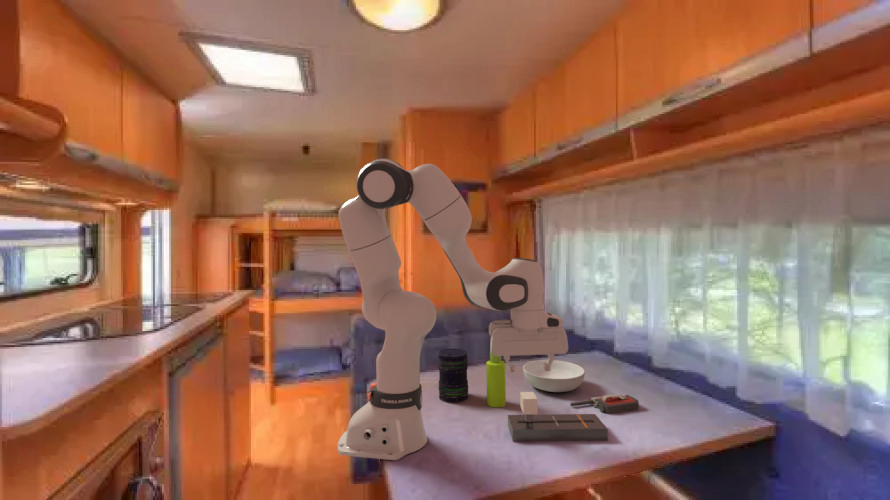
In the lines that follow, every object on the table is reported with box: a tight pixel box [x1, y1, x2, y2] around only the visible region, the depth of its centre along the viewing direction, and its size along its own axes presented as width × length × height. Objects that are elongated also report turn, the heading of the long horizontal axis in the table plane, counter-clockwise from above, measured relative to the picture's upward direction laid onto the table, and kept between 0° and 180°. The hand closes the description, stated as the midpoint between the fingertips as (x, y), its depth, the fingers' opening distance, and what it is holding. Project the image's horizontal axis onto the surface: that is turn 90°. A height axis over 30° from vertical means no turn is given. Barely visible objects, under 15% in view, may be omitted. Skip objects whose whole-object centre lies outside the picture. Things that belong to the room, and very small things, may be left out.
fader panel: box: [507, 413, 609, 442], centre depth 106 cm, size 24×9×3 cm, turn 89°
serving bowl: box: [522, 359, 586, 393], centre depth 140 cm, size 21×21×7 cm
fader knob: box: [519, 391, 539, 422], centre depth 106 cm, size 4×5×7 cm
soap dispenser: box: [485, 350, 507, 408], centre depth 126 cm, size 6×7×20 cm
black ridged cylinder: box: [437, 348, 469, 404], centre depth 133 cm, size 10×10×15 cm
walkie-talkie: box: [569, 393, 640, 415], centre depth 122 cm, size 9×4×20 cm
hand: (529, 371), depth 106 cm, fingers open, 8 cm apart
